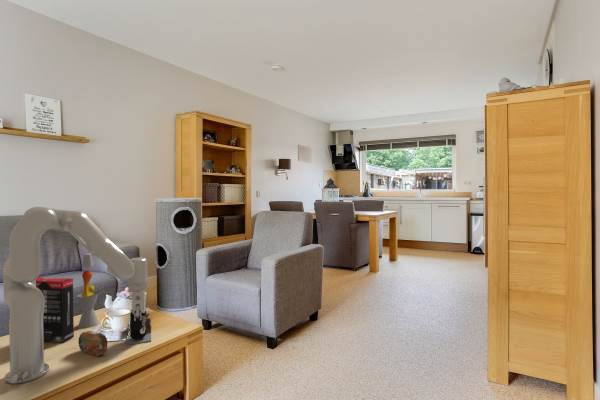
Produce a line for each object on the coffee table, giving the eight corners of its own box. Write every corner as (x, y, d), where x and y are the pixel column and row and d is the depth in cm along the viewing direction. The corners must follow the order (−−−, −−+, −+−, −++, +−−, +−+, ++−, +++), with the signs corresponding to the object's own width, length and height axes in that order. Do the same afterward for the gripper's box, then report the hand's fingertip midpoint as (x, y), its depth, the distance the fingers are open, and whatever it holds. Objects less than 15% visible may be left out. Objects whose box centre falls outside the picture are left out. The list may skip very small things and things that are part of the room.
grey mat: (151, 341, 151) (151, 340, 151) (125, 345, 147) (125, 344, 147) (151, 333, 159) (151, 332, 159) (126, 337, 155) (126, 336, 155)
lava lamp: (88, 328, 165) (87, 255, 164) (72, 327, 167) (72, 255, 166) (103, 322, 173) (102, 252, 173) (88, 320, 176) (87, 252, 175)
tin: (77, 351, 142) (77, 330, 141) (85, 348, 144) (85, 328, 144) (101, 358, 135) (101, 337, 135) (109, 355, 138) (109, 334, 138)
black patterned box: (151, 333, 159) (151, 325, 159) (126, 337, 155) (126, 328, 155) (151, 326, 168) (151, 317, 168) (128, 329, 164) (128, 320, 164)
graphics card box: (75, 337, 155) (74, 277, 155) (63, 344, 148) (62, 280, 148) (40, 335, 157) (39, 276, 156) (26, 342, 150) (26, 279, 149)
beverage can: (136, 340, 148) (135, 313, 148) (127, 337, 152) (126, 310, 151) (149, 335, 154) (149, 308, 153) (140, 332, 157) (140, 306, 157)
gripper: (147, 290, 146) (147, 332, 146) (147, 280, 162) (147, 318, 162) (127, 292, 143) (127, 335, 143) (129, 282, 159) (130, 320, 159)
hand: (138, 325), depth 152 cm, fingers closed on beverage can, 6 cm apart
